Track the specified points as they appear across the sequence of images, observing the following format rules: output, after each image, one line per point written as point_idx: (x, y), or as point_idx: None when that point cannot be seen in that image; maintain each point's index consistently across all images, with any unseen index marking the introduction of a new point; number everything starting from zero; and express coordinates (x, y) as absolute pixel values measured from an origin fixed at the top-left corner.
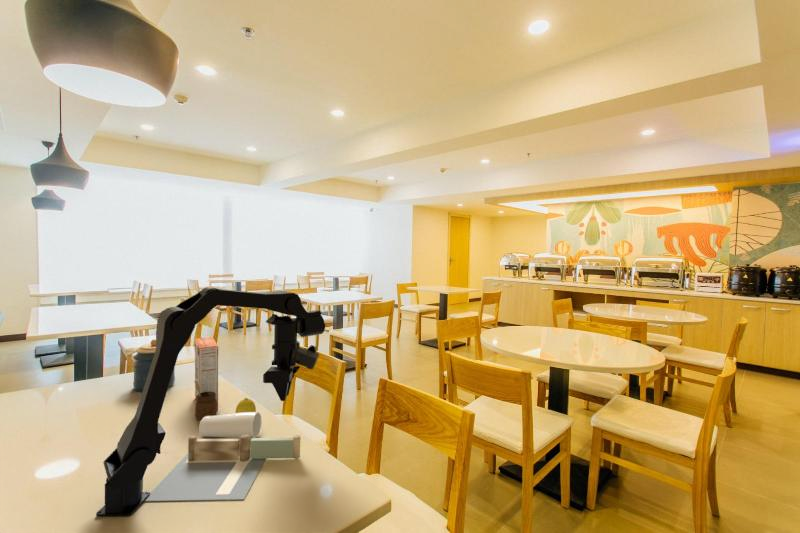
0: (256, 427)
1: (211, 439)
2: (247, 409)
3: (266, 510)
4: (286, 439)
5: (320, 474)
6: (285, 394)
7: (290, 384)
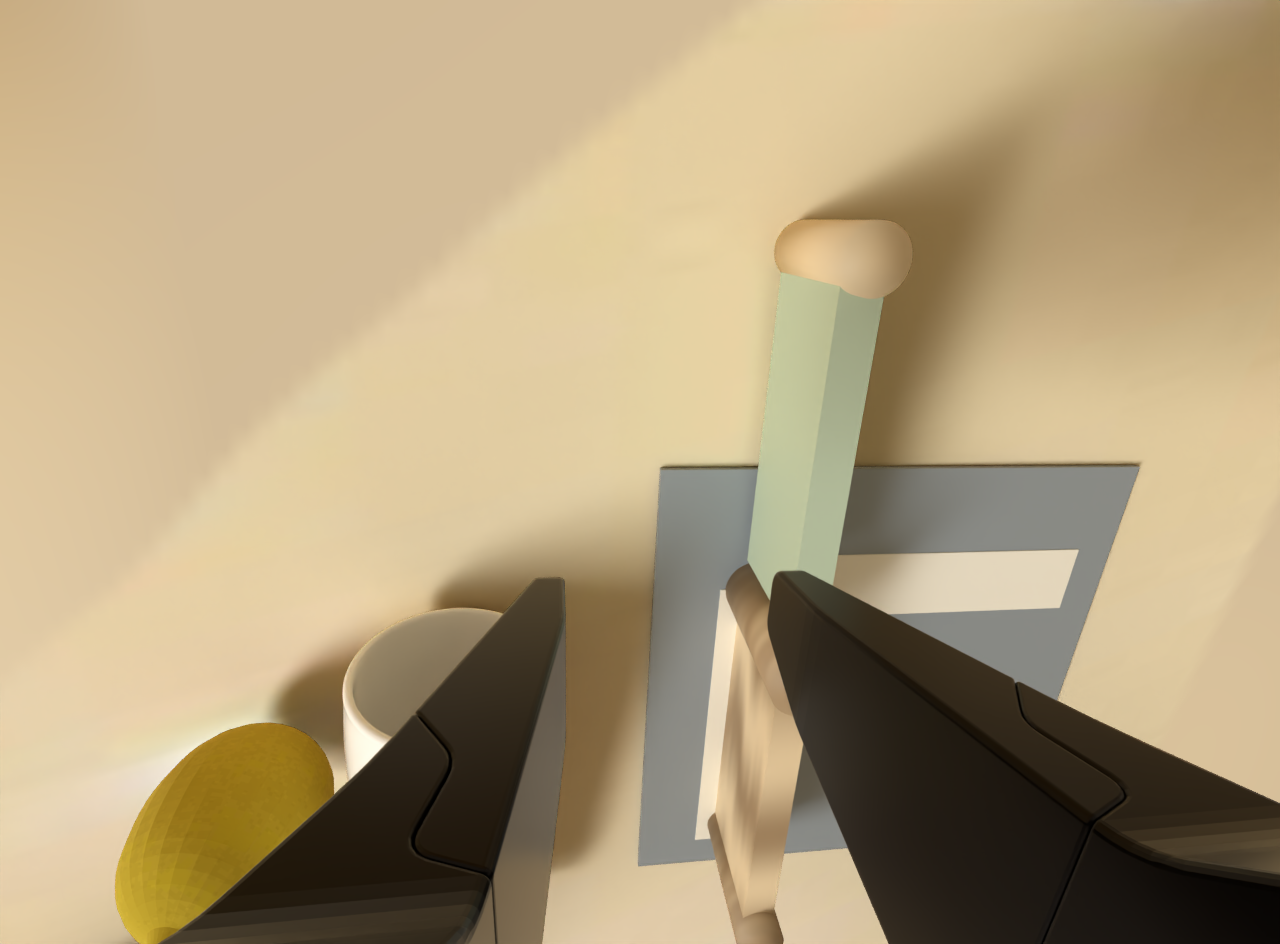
0: (391, 657)
1: (761, 849)
2: (280, 836)
3: (1259, 326)
4: (856, 357)
5: (1035, 10)
6: (902, 632)
7: (547, 694)
